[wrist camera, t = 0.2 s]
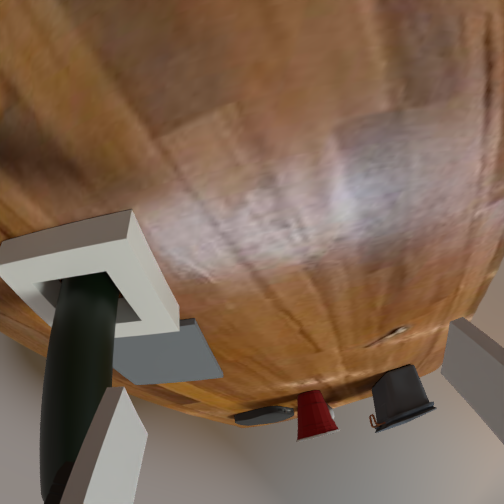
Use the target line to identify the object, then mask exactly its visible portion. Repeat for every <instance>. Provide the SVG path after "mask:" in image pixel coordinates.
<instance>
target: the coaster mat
mask: <svg viewBox="0 0 504 504" xmlns="http://www.w3.org/2000/svg"><path fill="white" fill-rule="evenodd" d="M179 327H180V331H176V332H168V333H159V334H150V335H140V336H130V337H119V338H114V352H113V368H114V369H115V370H117V371H118V372H119V373H121V374H122V375H123V376H124V377H126V378H127V379H128V380H130V381H131V382H132V383H134V384H135V385H143V384H159V383H173V382H184V381H195V380H204V379H213V378H221V377H223V372H222V370H221V368H220V366H219V365H218V363H217V361H216V359H215V357H214V355H213V353H212V351H211V349H210V348H209V346H208V344H207V342H206V340H205V338H204V336H203V334H202V332H201V330H200V328H199V326H198V324H197V322H196V320H195V318H193V319H186V320H179Z"/></svg>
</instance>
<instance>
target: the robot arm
mask: <svg viewBox="0 0 504 504" xmlns="http://www.w3.org/2000/svg"><path fill="white" fill-rule="evenodd" d="M441 374H442V375H443V376H444V377H445V378H446V379H447V380H448V382H449V383H450V384H451V385H452V386H453V387H454V388H455V389H456V390H457V391H458V393H459V394H460V395H461V396H462V397H463V398H464V399H465V400H466V401H467V403H468V404H469V405H470V406H471V407H472V408H473V409H474V410H475V411H476V413H477V414H478V415H479V416H480V417H481V418H482V420H483V421H484V422H485V423H486V424H487V425H488V427H489V428H490V429H491V430H492V431H493V432H494V434H495V435H496V436H497V437H498V438H499V440H500V441H501V442H502V443H503V444H504V348H503V347H502V346H500V345H499V344H498V343H497V342H495V341H494V340H493V339H491V338H490V337H489V336H487V335H486V334H485V333H484V332H482V331H481V330H479V329H478V328H477V327H476V326H474V325H473V324H472V323H470V322H469V321H468V320H466V319H465V318H464V317H461V318H459V319H456V320H453V321H451V322H450V325H449V332H448V338H447V344H446V349H445V354H444V360H443V364H442V369H441ZM147 436H148V433H147V432H146V430H145V428H144V426H143V424H142V422H141V420H140V418H139V416H138V414H137V412H136V410H135V408H134V406H133V404H132V402H131V400H130V398H129V396H128V394H127V392H126V390H125V387H107V389H106V391H105V393H104V395H103V397H102V400H101V402H100V404H99V406H98V409H97V411H96V413H95V415H94V418H93V420H92V422H91V425H90V427H89V429H88V432H87V434H86V437H85V439H84V441H83V444H82V446H81V449H80V451H79V454H78V456H77V459H76V461H75V462H68V461H66V462H65V463H64V464H63V465H62V466H61V467H60V468H59V470H58V471H57V473H56V475H55V478H54V480H53V485H51V487H50V490H49V494H48V495H47V498H46V500H45V503H44V504H133V503H134V498H135V493H136V487H137V482H138V478H139V473H140V468H141V463H142V459H143V454H144V450H145V445H146V441H147Z"/></svg>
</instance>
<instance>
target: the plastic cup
mask: <svg viewBox="0 0 504 504" xmlns="http://www.w3.org/2000/svg"><path fill="white" fill-rule="evenodd" d="M297 401H298V409H297V412H298V438H297V441H296V442H299V441H304V440H308V439H312V438H316V437H320V436H323V435H327V434H331V433H334V432H337V431H340V429H338V427H337V426H336V424H335V422H334V421H333V418H332V416H331V414H330V411H329V409H328V407H327V404H326V402H325V401H324V398H323V396H322V393H321V392H320V391H319V390H314V391H308V392H305V393H302V394H300V395H298V399H297Z"/></svg>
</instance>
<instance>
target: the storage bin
mask: <svg viewBox="0 0 504 504" xmlns="http://www.w3.org/2000/svg"><path fill="white" fill-rule="evenodd" d="M372 394H373V400H374V406H375V412H376V418H377V422H376V420H375V417H374V415H373V414H372V415H370V416H369V419H370V423H371V426H372V427H373V428H375V429H377V430H376V432H375V433H377V432H381V431H384V430H386V429H390V428H393V427H395V426H398V425H401V424H404V423H407V422H409V421H411V420H413V419H415V418H418V417H420V416H422V415H424V414H426V413H428V412H431V411H433V410H435V409H436V407H433V405H434V402H429V400H428V398H427V395H426V393H425V390H424V388H423V386H422V383H421V381H420V378H419V376H418V373H417V371H416V368H415V366H414V365H408V366H405V367H402V368H399V369H396V370H393V371H390V372H387V373H386V374H385V375H384V376H383V377H382V378H381V379H380V380H379V381H378V383H377V384H376V385H375V386H374V387H373V388H372ZM371 416H372V417H373V419H374V422H375V424H376V426H373V424H372V420H371Z"/></svg>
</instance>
